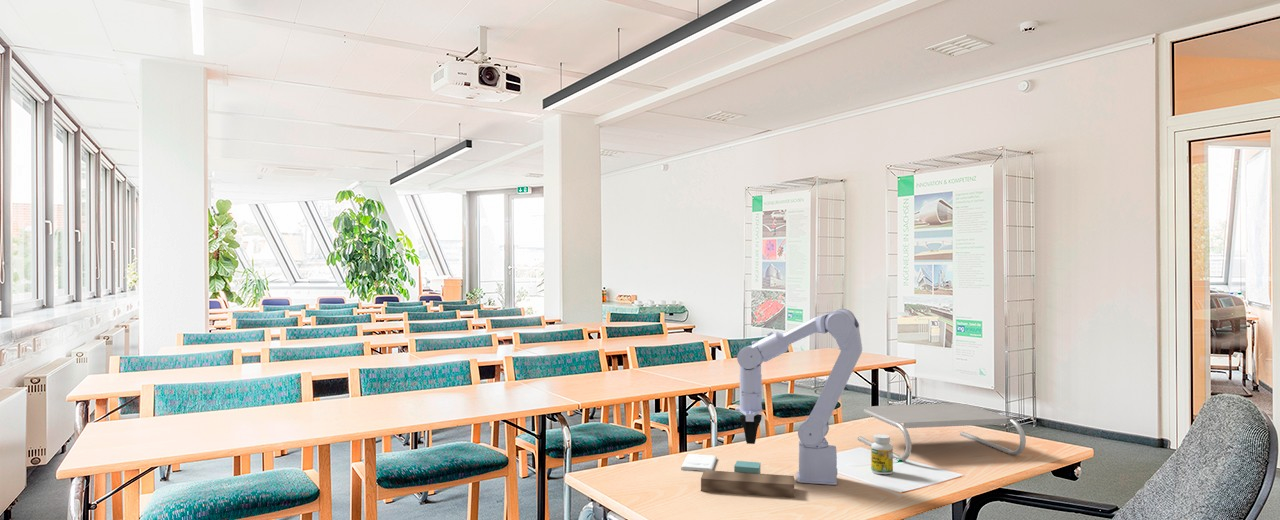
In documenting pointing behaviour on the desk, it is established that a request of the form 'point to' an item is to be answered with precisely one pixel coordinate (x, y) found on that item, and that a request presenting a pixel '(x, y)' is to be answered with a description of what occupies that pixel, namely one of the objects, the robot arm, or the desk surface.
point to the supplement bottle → (882, 455)
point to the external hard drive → (699, 462)
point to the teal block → (747, 467)
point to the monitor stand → (940, 421)
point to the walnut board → (747, 483)
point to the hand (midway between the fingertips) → (750, 443)
